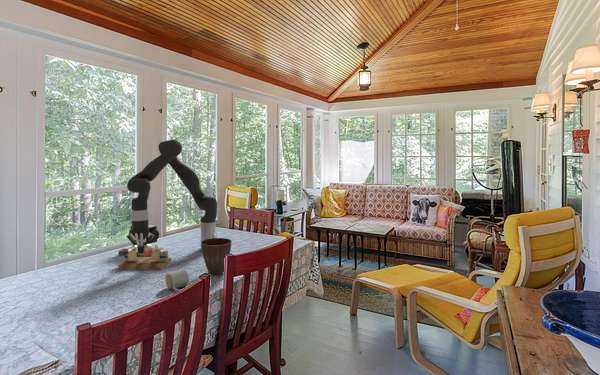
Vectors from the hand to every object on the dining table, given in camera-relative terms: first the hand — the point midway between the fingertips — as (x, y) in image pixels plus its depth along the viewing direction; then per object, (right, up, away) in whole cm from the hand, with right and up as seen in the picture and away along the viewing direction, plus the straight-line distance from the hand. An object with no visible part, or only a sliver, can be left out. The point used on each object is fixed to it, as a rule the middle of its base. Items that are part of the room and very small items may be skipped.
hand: (141, 253), depth 168 cm
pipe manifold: (-3, -7, +12) cm, 14 cm away
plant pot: (+37, -10, +1) cm, 39 cm away
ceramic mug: (+26, -12, -19) cm, 34 cm away
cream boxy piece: (-15, -7, +37) cm, 40 cm away
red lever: (+3, 0, +5) cm, 6 cm away
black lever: (-9, 0, +5) cm, 10 cm away
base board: (-3, -9, +12) cm, 15 cm away
